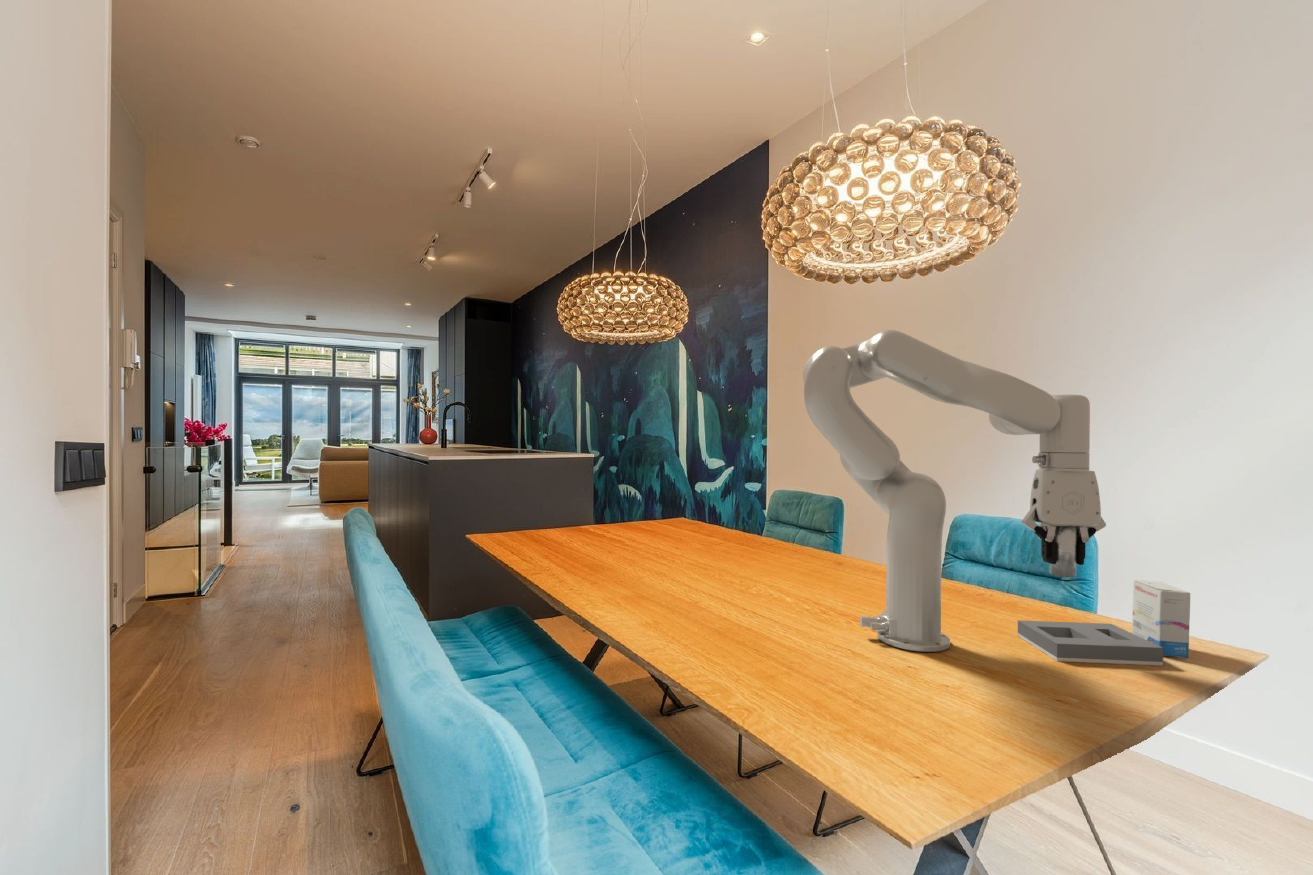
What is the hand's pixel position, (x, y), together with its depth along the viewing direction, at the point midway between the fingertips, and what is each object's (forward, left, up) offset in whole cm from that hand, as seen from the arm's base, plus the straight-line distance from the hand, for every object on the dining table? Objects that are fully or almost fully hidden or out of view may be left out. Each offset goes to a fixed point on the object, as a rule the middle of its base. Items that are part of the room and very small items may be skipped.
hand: (1063, 561), depth 107 cm
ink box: (+18, +2, -16) cm, 24 cm away
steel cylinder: (0, 0, -2) cm, 2 cm away
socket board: (+4, 0, -16) cm, 16 cm away
